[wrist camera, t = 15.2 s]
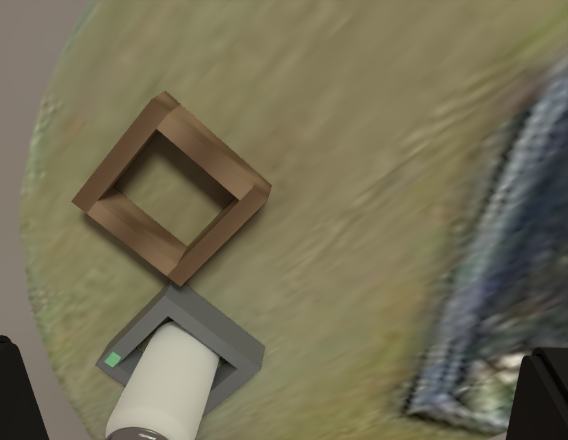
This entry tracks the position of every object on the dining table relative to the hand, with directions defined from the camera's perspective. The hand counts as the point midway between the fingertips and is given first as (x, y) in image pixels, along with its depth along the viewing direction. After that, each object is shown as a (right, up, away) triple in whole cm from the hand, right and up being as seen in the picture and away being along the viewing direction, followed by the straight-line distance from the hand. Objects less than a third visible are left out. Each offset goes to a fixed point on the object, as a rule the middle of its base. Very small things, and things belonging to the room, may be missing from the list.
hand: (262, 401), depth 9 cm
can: (-9, -8, +36) cm, 38 cm away
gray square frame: (-9, -8, +36) cm, 38 cm away
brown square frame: (-8, +6, +29) cm, 31 cm away
